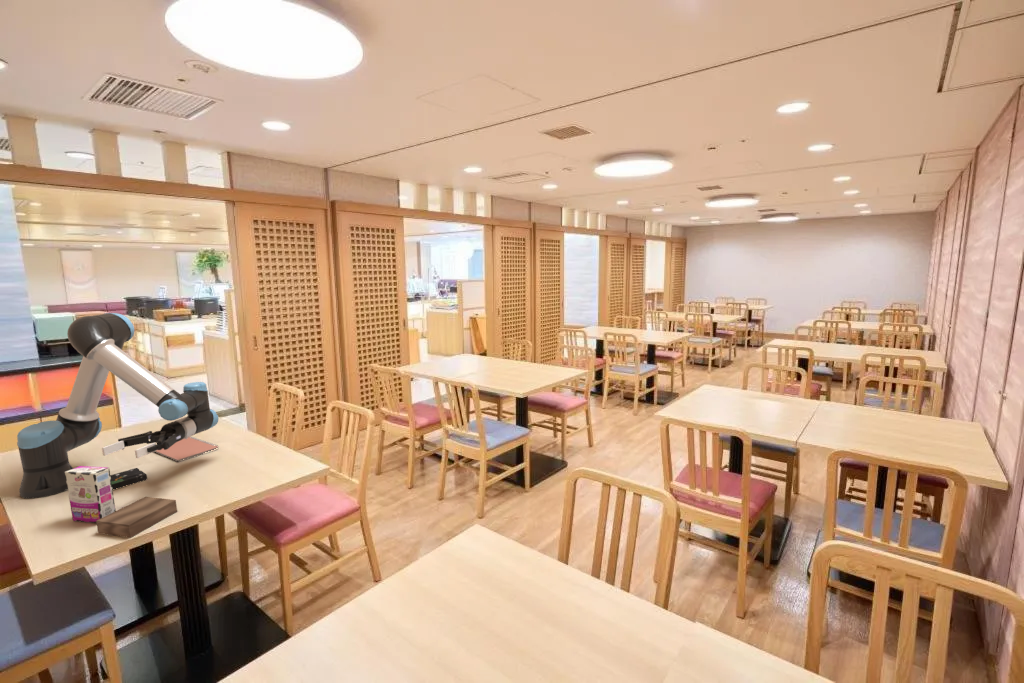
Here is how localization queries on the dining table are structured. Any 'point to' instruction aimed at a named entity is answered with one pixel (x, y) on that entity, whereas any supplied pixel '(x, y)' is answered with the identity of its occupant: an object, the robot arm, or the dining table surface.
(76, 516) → the candy bar box
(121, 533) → the wooden block
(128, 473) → the disk drive
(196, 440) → the notebook
